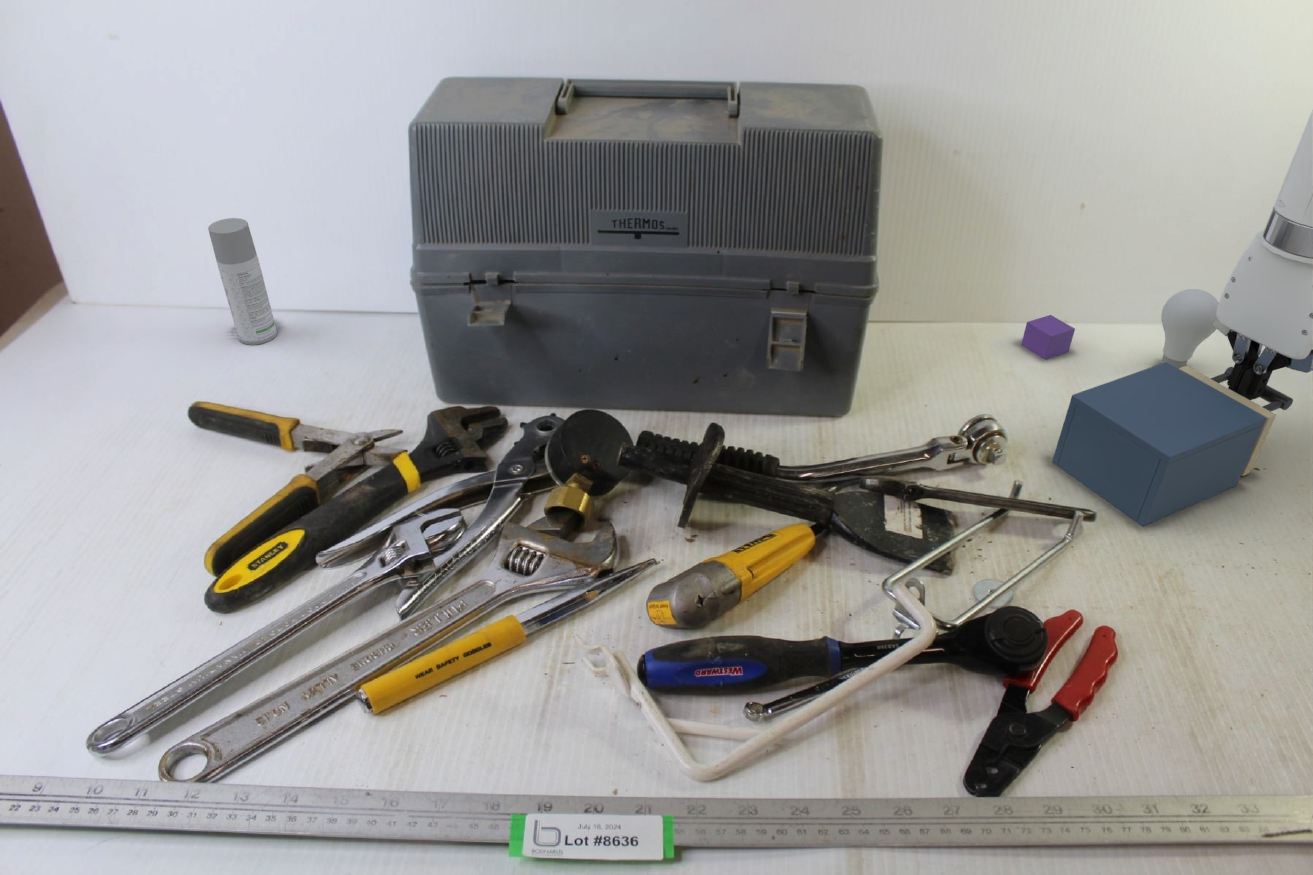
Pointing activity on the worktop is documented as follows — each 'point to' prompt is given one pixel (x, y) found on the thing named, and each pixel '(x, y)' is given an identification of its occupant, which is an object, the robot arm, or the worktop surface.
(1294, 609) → the worktop surface
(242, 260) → the container
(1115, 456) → the blue drawer cabinet
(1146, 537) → the worktop surface
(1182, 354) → the lightbulb
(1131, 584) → the worktop surface
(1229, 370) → the cream drawer
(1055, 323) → the purple cube
